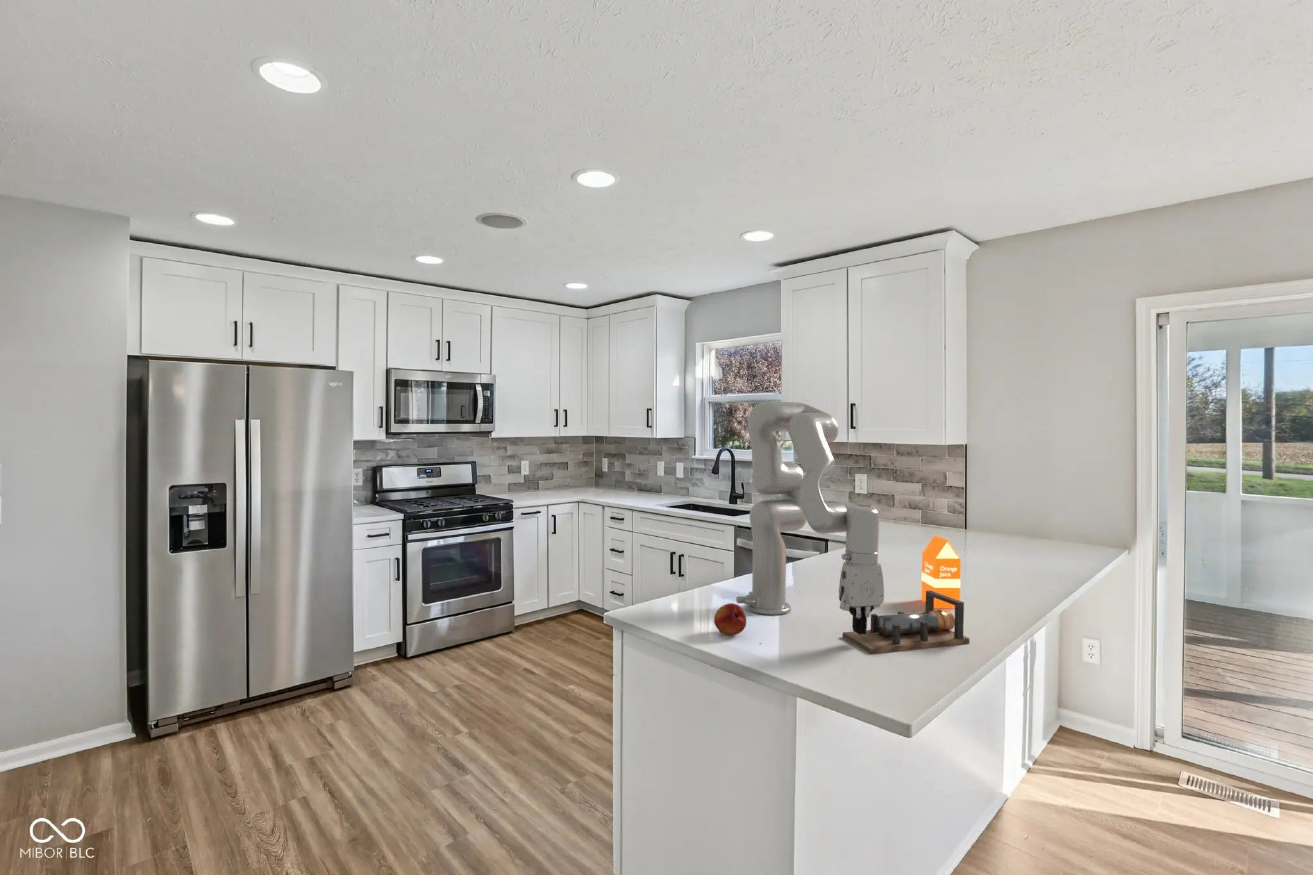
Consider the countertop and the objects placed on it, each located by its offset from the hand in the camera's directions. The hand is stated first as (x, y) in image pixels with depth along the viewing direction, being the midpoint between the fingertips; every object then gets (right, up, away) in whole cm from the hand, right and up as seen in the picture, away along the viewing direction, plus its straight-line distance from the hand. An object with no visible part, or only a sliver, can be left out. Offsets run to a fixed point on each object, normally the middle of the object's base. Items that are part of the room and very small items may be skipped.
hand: (859, 632), depth 154 cm
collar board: (+12, -3, +3) cm, 13 cm away
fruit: (-31, -3, +6) cm, 32 cm away
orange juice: (+36, -3, +36) cm, 51 cm away
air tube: (+16, -2, +6) cm, 17 cm away
